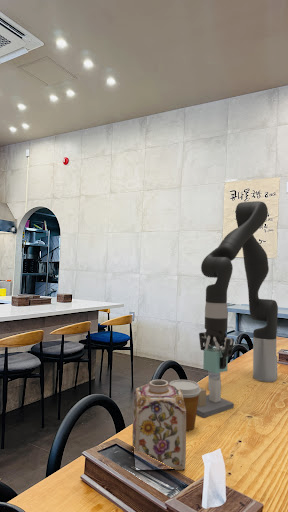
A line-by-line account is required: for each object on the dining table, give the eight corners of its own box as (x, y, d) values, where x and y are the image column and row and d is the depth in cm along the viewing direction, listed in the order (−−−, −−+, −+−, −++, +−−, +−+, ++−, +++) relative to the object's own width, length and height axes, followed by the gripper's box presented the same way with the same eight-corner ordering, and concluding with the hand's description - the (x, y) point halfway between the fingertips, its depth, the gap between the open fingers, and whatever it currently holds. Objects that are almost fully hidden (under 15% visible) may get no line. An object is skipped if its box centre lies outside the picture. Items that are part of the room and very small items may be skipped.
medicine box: (220, 391, 128) (220, 368, 128) (208, 390, 128) (208, 367, 129) (219, 384, 135) (220, 362, 136) (208, 383, 136) (208, 361, 136)
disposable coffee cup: (202, 422, 102) (203, 381, 102) (196, 437, 93) (197, 392, 93) (171, 417, 105) (172, 377, 105) (163, 431, 96) (163, 387, 96)
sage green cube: (214, 366, 119) (215, 347, 119) (227, 370, 114) (227, 350, 115) (203, 369, 116) (203, 349, 116) (215, 373, 111) (216, 353, 112)
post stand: (211, 398, 121) (211, 373, 121) (233, 407, 113) (233, 381, 113) (181, 406, 113) (181, 380, 113) (203, 417, 105) (203, 389, 105)
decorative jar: (186, 471, 77) (187, 390, 78) (134, 472, 76) (136, 390, 77) (176, 444, 89) (178, 374, 89) (132, 445, 88) (133, 374, 89)
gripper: (240, 317, 112) (239, 370, 112) (208, 312, 124) (207, 359, 123) (224, 319, 108) (224, 373, 107) (193, 314, 120) (192, 362, 119)
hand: (215, 366), depth 115 cm, fingers closed on sage green cube, 5 cm apart
